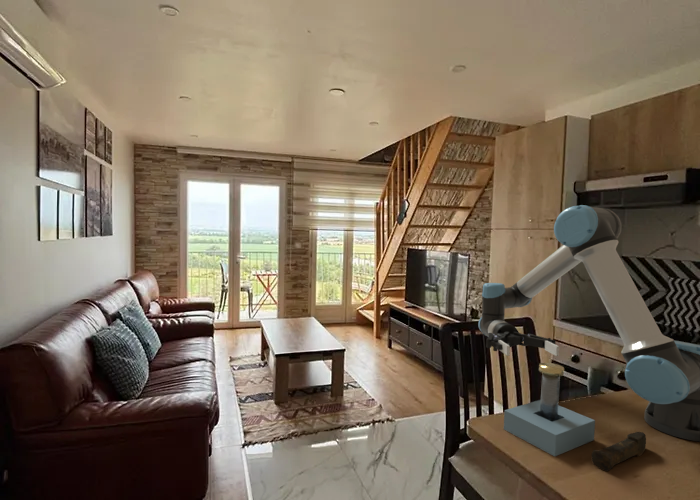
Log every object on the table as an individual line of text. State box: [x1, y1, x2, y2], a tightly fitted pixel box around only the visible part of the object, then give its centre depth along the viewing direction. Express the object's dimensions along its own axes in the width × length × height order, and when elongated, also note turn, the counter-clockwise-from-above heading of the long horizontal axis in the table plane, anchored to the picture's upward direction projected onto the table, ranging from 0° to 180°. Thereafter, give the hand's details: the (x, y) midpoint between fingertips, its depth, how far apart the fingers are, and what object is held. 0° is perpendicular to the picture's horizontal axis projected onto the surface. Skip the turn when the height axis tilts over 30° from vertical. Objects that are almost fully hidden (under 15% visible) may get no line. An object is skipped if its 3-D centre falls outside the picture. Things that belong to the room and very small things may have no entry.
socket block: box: [503, 399, 596, 457], centre depth 99 cm, size 14×16×5 cm
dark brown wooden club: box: [591, 431, 647, 472], centre depth 89 cm, size 19×4×5 cm, turn 116°
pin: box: [538, 362, 565, 422], centre depth 99 cm, size 6×6×16 cm
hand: (533, 351), depth 108 cm, fingers open, 13 cm apart
